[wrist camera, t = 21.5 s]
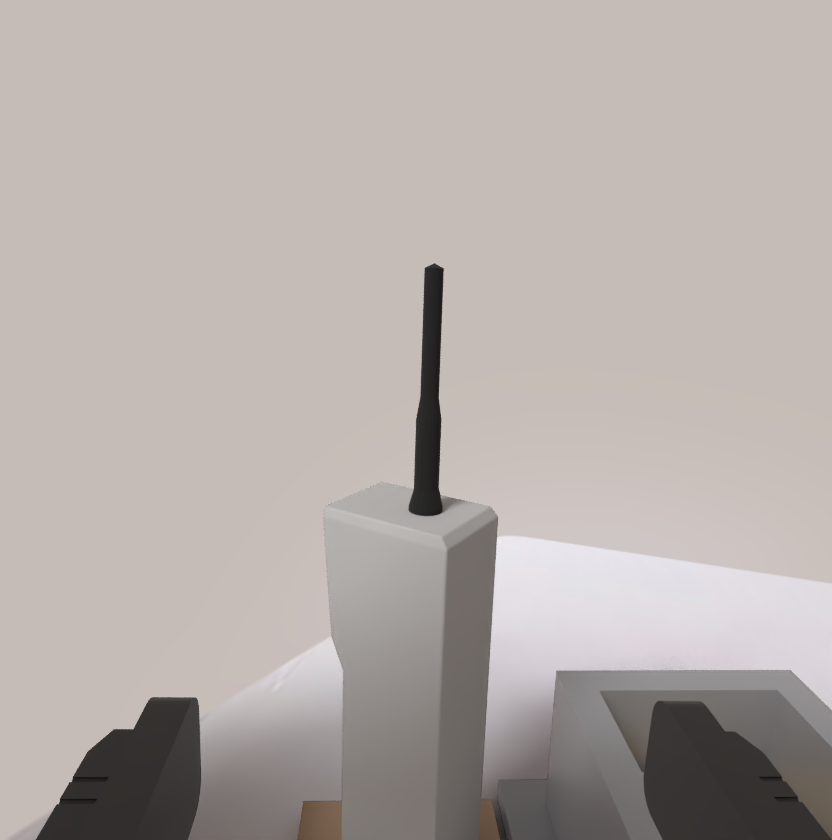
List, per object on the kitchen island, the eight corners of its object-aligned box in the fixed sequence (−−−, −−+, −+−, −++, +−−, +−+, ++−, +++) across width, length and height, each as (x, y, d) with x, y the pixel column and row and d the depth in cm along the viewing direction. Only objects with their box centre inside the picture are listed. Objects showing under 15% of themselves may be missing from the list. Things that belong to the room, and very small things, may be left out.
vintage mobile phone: (375, 841, 30) (387, 262, 25) (475, 897, 28) (514, 266, 22) (320, 905, 27) (321, 260, 22) (428, 975, 25) (459, 263, 19)
